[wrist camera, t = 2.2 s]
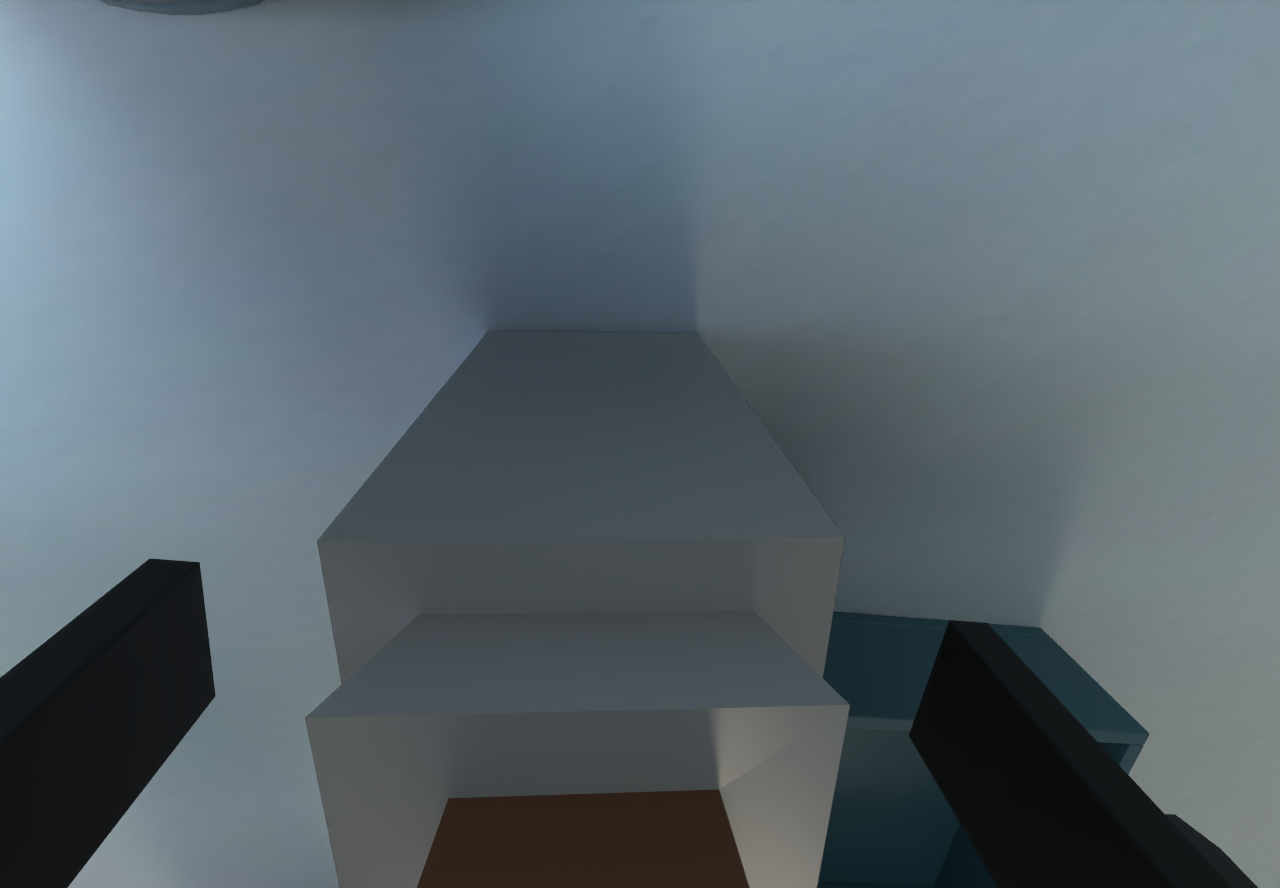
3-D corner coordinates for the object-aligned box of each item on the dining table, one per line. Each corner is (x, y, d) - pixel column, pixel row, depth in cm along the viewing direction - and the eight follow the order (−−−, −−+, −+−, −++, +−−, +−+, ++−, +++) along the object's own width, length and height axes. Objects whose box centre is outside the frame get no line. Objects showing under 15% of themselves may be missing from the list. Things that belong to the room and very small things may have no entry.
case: (730, 603, 25) (765, 710, 20) (1041, 627, 26) (1151, 733, 21) (673, 872, 30) (688, 1014, 25) (934, 881, 32) (1001, 1017, 26)
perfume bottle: (697, 333, 21) (1085, 871, 4) (686, 518, 23) (908, 1321, 7) (488, 330, 21) (11, 917, 4) (499, 518, 23) (235, 1381, 6)
